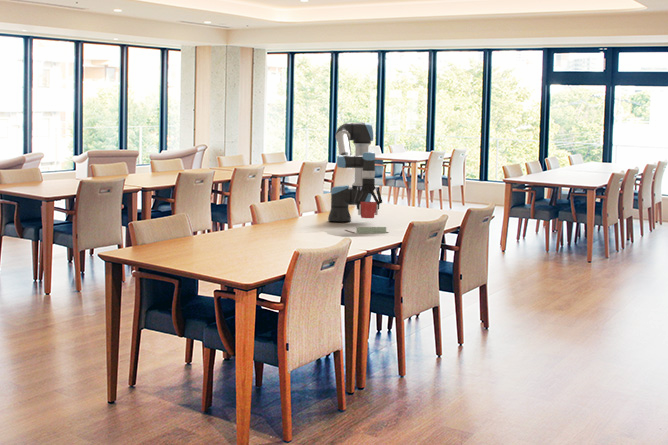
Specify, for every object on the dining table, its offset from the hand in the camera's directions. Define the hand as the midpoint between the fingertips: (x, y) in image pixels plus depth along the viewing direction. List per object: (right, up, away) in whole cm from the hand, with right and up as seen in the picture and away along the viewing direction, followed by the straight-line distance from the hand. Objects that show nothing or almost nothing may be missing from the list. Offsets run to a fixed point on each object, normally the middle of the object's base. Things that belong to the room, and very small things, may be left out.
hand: (367, 214), depth 461 cm
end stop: (+2, -11, -6) cm, 12 cm away
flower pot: (0, -2, 0) cm, 2 cm away
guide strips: (-1, -10, +3) cm, 10 cm away
